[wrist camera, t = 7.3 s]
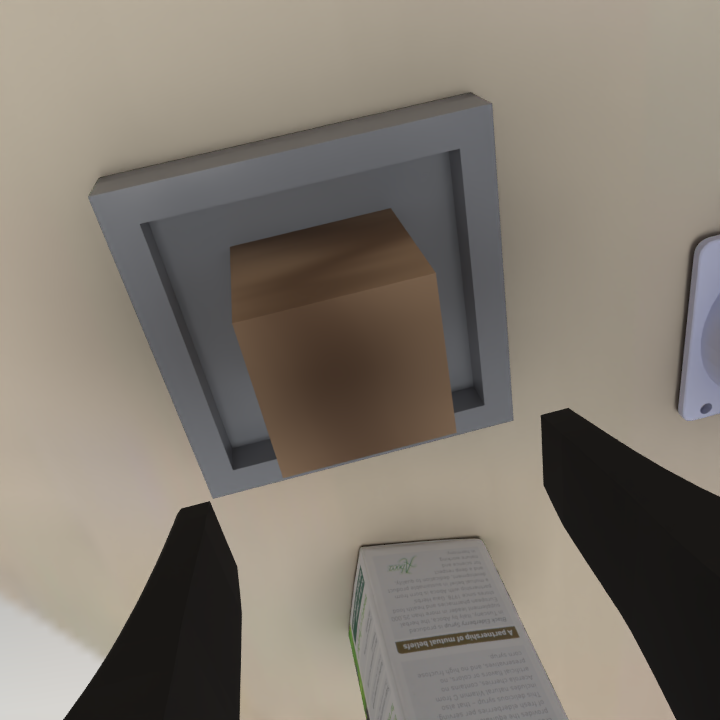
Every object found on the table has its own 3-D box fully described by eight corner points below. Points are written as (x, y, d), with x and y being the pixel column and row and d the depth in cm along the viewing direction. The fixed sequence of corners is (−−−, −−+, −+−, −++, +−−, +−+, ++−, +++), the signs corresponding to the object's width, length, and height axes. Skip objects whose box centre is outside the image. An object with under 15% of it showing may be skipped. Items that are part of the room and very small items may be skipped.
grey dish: (470, 92, 19) (492, 102, 18) (495, 392, 25) (513, 420, 24) (99, 178, 19) (87, 196, 17) (213, 465, 25) (212, 498, 23)
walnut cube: (390, 208, 20) (436, 273, 16) (413, 345, 23) (456, 432, 18) (229, 246, 20) (231, 323, 16) (271, 381, 22) (282, 478, 18)
